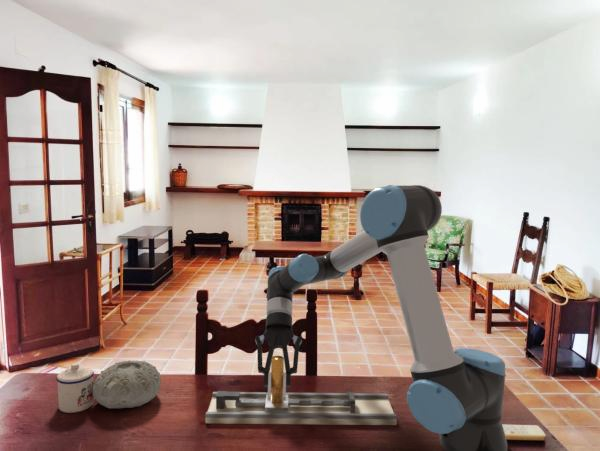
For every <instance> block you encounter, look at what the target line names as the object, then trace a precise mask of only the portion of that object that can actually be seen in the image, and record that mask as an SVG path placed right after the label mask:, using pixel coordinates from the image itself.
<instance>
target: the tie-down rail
mask: <svg viewBox="0 0 600 451" xmlns="http://www.w3.org/2000/svg"><path fill="white" fill-rule="evenodd" d="M266 394H267V395H268V391H267V392H265V391H264V392H263V391H262V392H261V391H260V392H259V391H252V392H251V391H226V390H217V391H213V392H212V397H211V400H210V403H209V406H208V409H207V411H206V412H205V424H223V425H224V424H226V425H227V424H228V425H229V424H233V425H235V424H236V425H238V424H241V425H242V424H247V425H250V424H252V425H332V426H333V425H334V426H335V425H340V426H341V425H342V426H343V425H344V426H345V425H351V426H354V425H355V426H356V425H357V426H359V425H360V426H361V425H362V426H364V425H366V426H397V424H398V422H397V420H398V419H397V417H398V416H397V414H396V413H395V412H394V410H393V407H392V405H391V402H390V399H389V393H364V392H363V393H361V392H358V393H355V392H353V390H348V391H347V393H346V392H343V393H341V392H338V393H337V392H286V395H288V400H299V399H311V400H350V406H311V405H310V406H299V405H288V412H265V407H235V402H236V400H239V399H266Z"/></svg>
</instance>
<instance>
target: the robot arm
mask: <svg viewBox="0 0 600 451" xmlns="http://www.w3.org/2000/svg"><path fill="white" fill-rule="evenodd" d="M442 211H443V210H442V202H441V200H440V198H439V196H438V195H437V194H436V192H434V190H432V189H430V188H429V187H427V186H424V185H419V184H418V185H417V184H413V185H394V184H390V185H385V186H378V187H376V188H373V189H372V190H371V191H370V192H369V193H368V194H367V195H366V196H365V197H364V200H363V202H362V204H361V207H360V212H359V217H360V218H359V219H360V224H361V228H362V230H361V232H359V233H357V234H355V236H353V237H351V238H350V239H348V240H347V241H345V242H343V243H342V244H340V245H339V246H337V247H336V248H334V249H332V250H331V251H329V252H328V253H326V254H324V255H320V256H313V255H309V254H308V253H302V254H299V255H298V256H296V257H295V258H292V259H291V261H290V262H289V263H288V264H287V265H286V266H285V265H284V266H282V265H277V266H276V267H272V268H271V269H270V270H269V272H268V277H267V294H266V297H267V298H266V301H267V302H266V317H265V318H266V319H265V320H266V321H265V330H264V332H263V334H262V335H261V334H260V335H255V337H254V341H255V344H256V346H257V350H256V351H257V353H256V354H257V371H258V373H259V374H262V375H263V386H264V387H265V388H267V392H268V401H271V367H272V357H273V356H274V352H275V349H281V350H282V357H283V358H284V369H285V370H284V371H285V372H283V401H286V393H287V388H290V387H291V377H292V375H293V374H297V372H298V364H299V353H300V346H301V344H302V343H303V336H301V335H299V336H297V335H295V334H294V332H293V295H294V293H295V292H297V291H298V290H299V289H301V288H302V287H303V286H306V285H311V284H316V283H319V282H320V283H321V282H325V281H329V280H337V279H340V278H342V277H345V276H346V275H347V274H348V272H349V271H350V270H351V269H353V268H354V267H357V266H358V265H360V264H362V263H364V262H366V261H367V260H369V259H371V258H372V257H375V256H376V255H379V254H380V253H381V252H382V253H383V254H385V255H386V257H387V261H388V264H389V268H390V272H391V275H392V280H393V283H394V286H395V292H396V295H397V299H398V303H399V306H400V310H401V312H402V313H401V314H402V318H403V322H404V325H405V329H406V332H407V336H408V340H409V344H410V348H411V351H412V354H413V359H414V361H413V363H412V365H411V366H410V368H409V371H410V374H411V379H412V383H411V384H410V386H409V387H408V391H406V402H407V406H408V408H409V412H410V413H411V414H412V416H413V417H414V419H415V420H416V422H418V424H421V425H422V426H423V428H424V429H426V430H428V431H430V432H432V433H435V434H438V435H439V443H440V445H441V447H442V448H443V450H444V451H508V441H507V438H506V433H505V430H504V426H503V422H502V413H503V402H504V401H503V400H504V392H505V381H506V376H507V375H506V374H507V373H506V364H505V362H504V360H503V359H502V358H500V357H499V356H498V355H497V354H496V355H495V354H493V353H490V352H487V351H484V350H479V349H476V348H475V349H474V348H467V347H463V348H461V347H460V348H457V349H454V347H453V345H452V340H451V337H450V333H449V331H448V327H447V322H446V320H445V319H446V318H445V315H444V312H443V307H442V305H441V301H440V298H439V293H438V290H437V287H436V286H437V285H436V283H435V280H434V279H435V278H434V276H433V273H432V268H431V266H430V262H429V258H428V255H427V251H426V247H425V246H426V243H427V241H428V239H429V237H430V236H429V231H430V230H433V228H434V227H436V225H438V223H439V221H440V219H441V216H442ZM264 340H265V341H266V343H267V344H268V346H269V347H268V352H267V355H266V356H267V357H266V359H265V360H266V361H265V366H263V346H262V345H263V343H264ZM291 341H293V344H294V349H293V350H294V351H293V363H292V367H291V365H290V358H289V350H288V346H289V344H290V343H291Z"/></svg>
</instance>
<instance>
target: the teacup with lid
mask: <svg viewBox="0 0 600 451" xmlns="http://www.w3.org/2000/svg"><path fill="white" fill-rule="evenodd" d="M94 374H95V372H94V370H93V369H92V368H91V367H89V366H84V365H83V366H82V365H80V364H79V363H78V362H74V363H71V365H70V367H68V368H65V369H63V370H61V371H60V372H59V373H58V374H57V376H56V377H55V378H56V381H57V395H58V397H57V398H58V409H59V410H60V412H63V413H69V414H72V413H79V412H83V411H85V410H88V409H89V408H91V407H92V406H93V405H94V402H95V398H94V396H93V392H92V388H93V385H94Z"/></svg>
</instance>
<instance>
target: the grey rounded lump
mask: <svg viewBox="0 0 600 451" xmlns="http://www.w3.org/2000/svg"><path fill="white" fill-rule="evenodd" d="M161 386H162V378H161V372H159V370H158V369H157V367H156V366H155V365H153V364H151V363H149V362H147V361H145V360H123V361H119V362H115V363H114V364H112V365H110V366H108V367H107V368H105V369H104V370H101V371H100V373H99V375H98V376H97V377H96V378H95V381H93V388H92V392H93V396H94V400H96V402H97V403H98V404H100V406H103V407H105V408H107V409H109V410H110V409H117V410H118V409H125V408H127V409H129V408H130V409H132V408H135V407H136V408H137V407H142V406H143V405H145V404H147V403H149V402H150V401H152V400H153V399H155V397H156V396H157V394H158V393H159V391H160V390H161Z"/></svg>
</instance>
